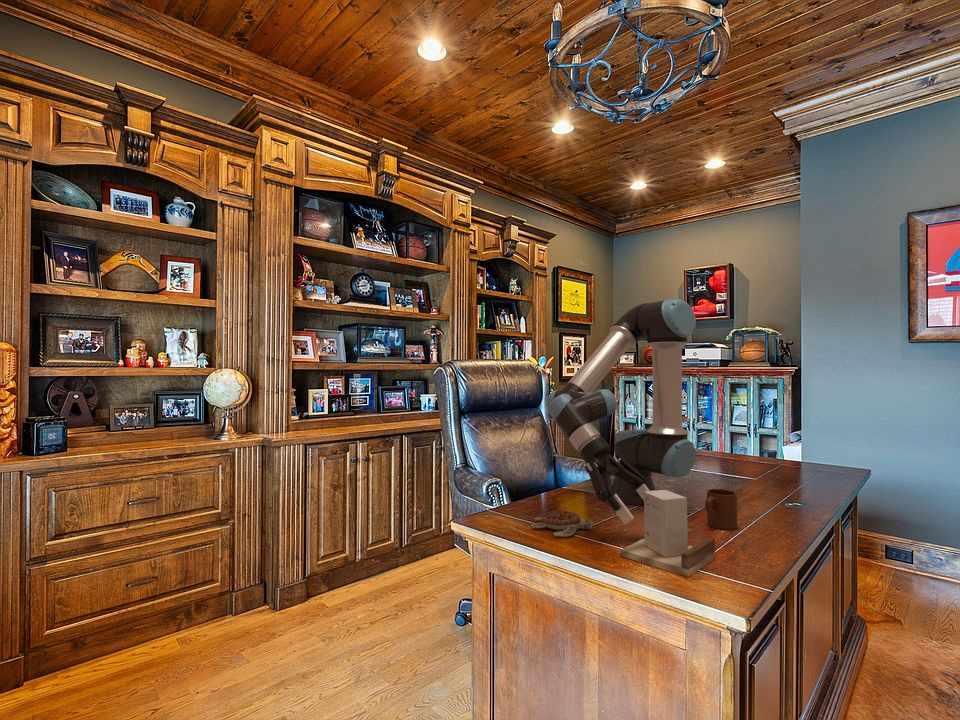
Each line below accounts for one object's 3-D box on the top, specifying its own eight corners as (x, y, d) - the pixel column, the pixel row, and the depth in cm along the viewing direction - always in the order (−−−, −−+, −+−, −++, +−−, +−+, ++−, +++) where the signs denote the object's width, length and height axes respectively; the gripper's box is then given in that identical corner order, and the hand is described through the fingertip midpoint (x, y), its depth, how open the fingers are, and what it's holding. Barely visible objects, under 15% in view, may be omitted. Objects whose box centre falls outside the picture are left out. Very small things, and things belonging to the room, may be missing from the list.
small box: (688, 554, 113) (687, 497, 114) (664, 557, 112) (663, 499, 112) (666, 542, 121) (666, 489, 121) (643, 545, 120) (643, 491, 120)
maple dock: (620, 556, 117) (620, 537, 117) (649, 541, 126) (649, 523, 126) (688, 576, 105) (688, 555, 105) (714, 558, 115) (714, 539, 115)
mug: (721, 536, 130) (721, 500, 130) (693, 528, 136) (693, 494, 136) (742, 526, 137) (741, 492, 137) (715, 520, 143) (714, 487, 143)
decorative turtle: (591, 543, 127) (591, 523, 127) (527, 537, 131) (527, 518, 131) (595, 521, 144) (595, 504, 144) (538, 517, 149) (538, 500, 149)
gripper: (607, 447, 141) (657, 512, 130) (553, 460, 124) (606, 535, 113) (623, 430, 137) (677, 495, 127) (570, 441, 120) (627, 517, 109)
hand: (643, 515), depth 120 cm, fingers open, 13 cm apart
